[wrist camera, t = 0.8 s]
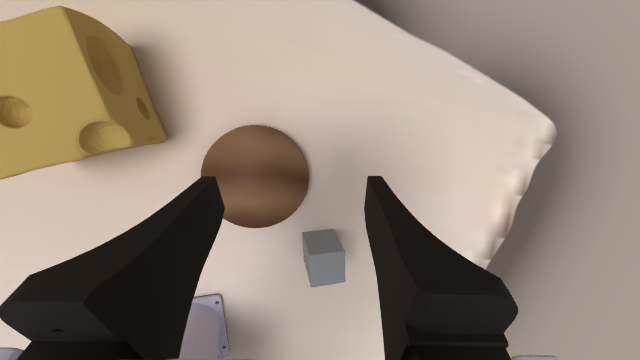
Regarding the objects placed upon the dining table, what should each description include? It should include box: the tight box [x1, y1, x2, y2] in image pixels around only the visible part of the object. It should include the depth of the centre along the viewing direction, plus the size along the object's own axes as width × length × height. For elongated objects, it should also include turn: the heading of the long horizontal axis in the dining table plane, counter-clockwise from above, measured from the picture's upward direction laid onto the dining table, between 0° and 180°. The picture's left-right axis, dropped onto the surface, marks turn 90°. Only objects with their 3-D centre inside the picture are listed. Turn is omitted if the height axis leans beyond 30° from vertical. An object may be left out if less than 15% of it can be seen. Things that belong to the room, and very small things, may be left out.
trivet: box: [201, 125, 309, 228], centre depth 32 cm, size 12×12×2 cm
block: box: [302, 229, 345, 287], centre depth 34 cm, size 4×4×6 cm
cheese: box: [0, 6, 167, 180], centre depth 24 cm, size 10×11×10 cm
